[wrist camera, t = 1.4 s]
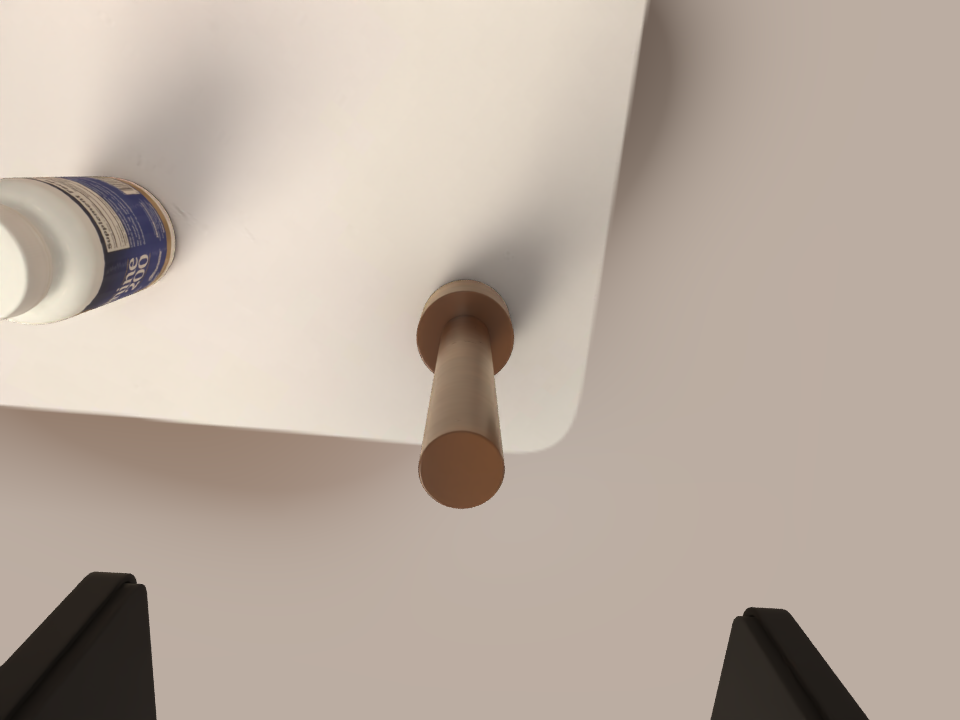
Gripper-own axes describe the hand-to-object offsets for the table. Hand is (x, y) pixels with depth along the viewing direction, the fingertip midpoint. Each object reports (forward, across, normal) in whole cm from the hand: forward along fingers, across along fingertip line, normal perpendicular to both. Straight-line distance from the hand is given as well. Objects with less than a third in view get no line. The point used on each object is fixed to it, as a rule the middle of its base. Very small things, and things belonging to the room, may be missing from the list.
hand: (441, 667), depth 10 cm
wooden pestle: (+22, 0, 0) cm, 22 cm away
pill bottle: (+23, +16, -3) cm, 28 cm away
